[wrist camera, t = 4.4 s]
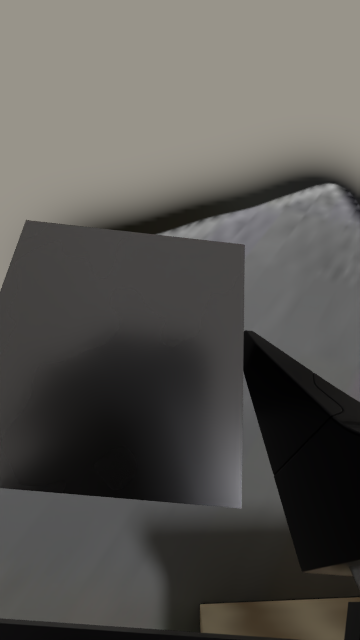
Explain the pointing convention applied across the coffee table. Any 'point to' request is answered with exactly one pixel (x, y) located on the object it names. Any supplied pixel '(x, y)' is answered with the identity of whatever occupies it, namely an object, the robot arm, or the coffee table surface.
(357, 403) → the robot arm
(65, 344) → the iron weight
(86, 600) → the coffee table surface
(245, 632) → the trapdoor frame
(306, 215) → the coffee table surface
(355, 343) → the coffee table surface
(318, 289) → the coffee table surface
